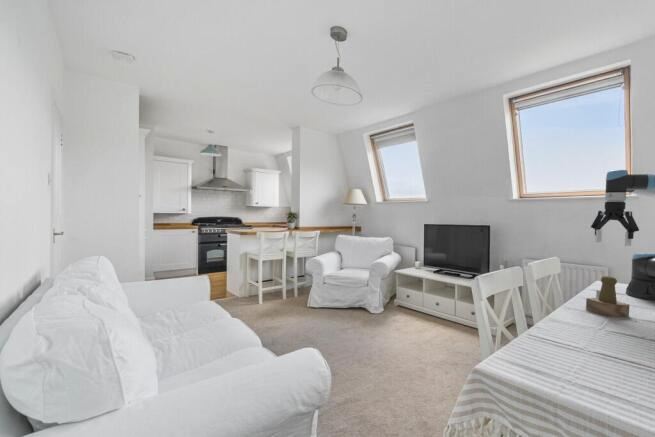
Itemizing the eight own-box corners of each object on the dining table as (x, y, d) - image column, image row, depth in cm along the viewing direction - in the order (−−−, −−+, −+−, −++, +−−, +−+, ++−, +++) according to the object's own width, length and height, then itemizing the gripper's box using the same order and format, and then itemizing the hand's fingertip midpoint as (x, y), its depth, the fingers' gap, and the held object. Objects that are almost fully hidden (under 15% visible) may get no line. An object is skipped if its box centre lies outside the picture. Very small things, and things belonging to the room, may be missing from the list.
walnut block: (604, 308, 140) (605, 297, 140) (628, 316, 130) (629, 304, 130) (585, 308, 138) (586, 298, 138) (609, 316, 129) (609, 305, 128)
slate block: (606, 302, 149) (607, 290, 149) (615, 305, 144) (616, 293, 144) (595, 301, 150) (596, 289, 150) (603, 304, 145) (604, 292, 145)
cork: (609, 299, 137) (610, 275, 136) (620, 303, 131) (622, 278, 130) (594, 298, 137) (596, 274, 137) (605, 303, 131) (607, 278, 131)
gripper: (583, 201, 161) (581, 240, 162) (638, 201, 137) (634, 247, 138) (595, 201, 162) (593, 240, 163) (651, 201, 138) (648, 247, 139)
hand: (612, 243), depth 151 cm, fingers open, 13 cm apart
